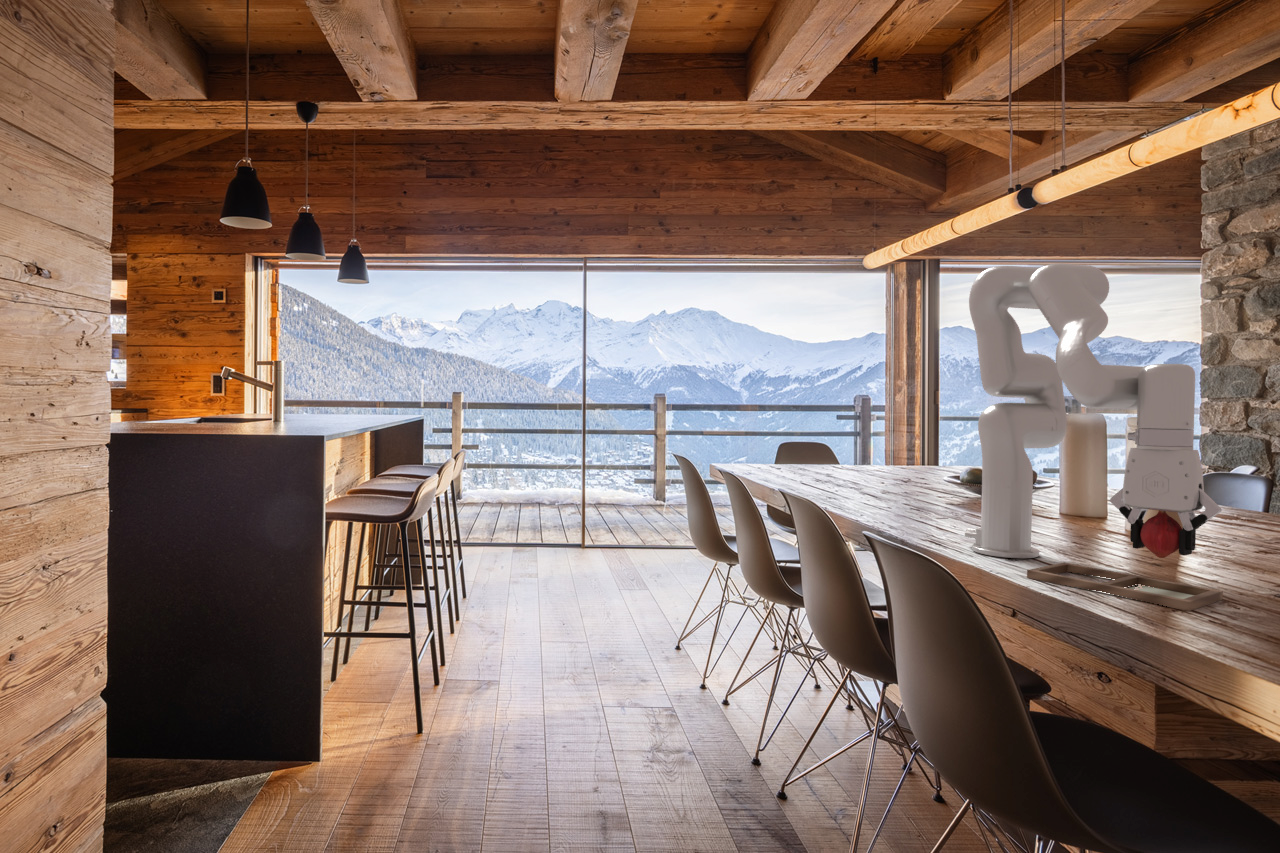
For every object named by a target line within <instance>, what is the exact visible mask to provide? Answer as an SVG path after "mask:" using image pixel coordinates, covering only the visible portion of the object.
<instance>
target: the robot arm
mask: <svg viewBox="0 0 1280 853" xmlns="http://www.w3.org/2000/svg"><path fill="white" fill-rule="evenodd" d="M1109 292H1110V281H1109V279H1108V277H1107V275H1106V274H1105V273H1104V271H1103V270H1101V269H1100V268H1098V267H1097V266H1092V265H1086V264H1085V265H1084V264H1071V263H1051V264H1046V265H1045V266H1044V265H1043V266H1041V267H1031V266H1030V267H1029V266H1027V267H1026V266H1017V265H998V266H992V267H988V268H986V269H985V270H983V271H981V273H979V274H978V275H977V276H976V278H975V280H974V281H973V284H971V288H970V291H969V298H968V308H969V313H970V316H971V318H970V319H971V321H972V324H973V328H974V331H975V335H976V342H977V343H976V344H977V352H978V353H977V354H978V360H979V361H978V362H979V363H978V364H979V373H980V379H981V384H982V385H981V386H982V388H983V391H985V392H986V393H987V394H988V395H989V396H993V397H998V398H1018V399H1019V398H1020V399H1021V398H1024V402H999V403H994V404H991V405H989V406H987V407H986V408H985V409H983V411H982V412H981V414H980V415H979V418H978V421H977V422H978V423H977V425H978V426H977V427H978V430H977V431H978V436H979V440H980V447H981V459H982V460H981V461H982V462H981V463H982V467H981V468H982V469H981V470H982V472H981V478H982V479H981V508H980V509H981V514H980V515H981V516H980V528H971V527H967V528H966V531H965V532H964V536H965V538H970V539H974V540H975V543H972V548H971V550H972V551H974V552H975V553H977V554H981V555H986V556H990V557H997V558H1004V559H1005V558H1009V559H1010V558H1011V559H1034V558H1038V557H1039V556H1040V550H1039V549H1038V548H1036V547H1033V546H1032V526H1033V525H1032V522H1033V518H1032V517H1033V492H1034V491H1033V490H1034V489H1033V487H1034V486H1033V485H1034V484H1033V483H1034V471H1033V470H1034V469H1033V466H1032V462H1031V460H1030V458H1029V456H1028V454H1027V451H1026V450H1025V449H1049V448H1053V447H1055V446H1057V445H1059V444H1060V443H1062V441H1063V440H1064V438H1065V436H1066V432H1067V428H1068V425H1067V424H1068V421H1067V420H1068V418H1067V411H1066V410H1067V409H1066V403H1065V395H1064V394H1065V393H1064V386H1065V387H1066V389H1067V390H1068V392H1069V393H1070V395H1072V397H1073V398H1074V400H1076V401H1077V402H1078V403H1079V404H1080V405H1082V406H1084V407H1087V408H1090V409H1094V410H1095V409H1098V410H1102V409H1103V410H1125V411H1126V410H1131V411H1133V410H1136V428H1135V430H1134V431H1133V432H1128V433H1127V437H1126V438H1127V440H1128V441H1133V442H1134V444H1135V445H1136V447H1130V448H1129V452H1128V455H1127V460H1126V465H1125V468H1124V469H1125V470H1124V477H1123V484H1122V485H1123V486H1122V488H1121V489H1120V490H1119V491H1117V493H1115V494H1114V495H1112V496H1111V497H1110V499H1109V502H1110V503H1111V504H1112V505H1113V506H1114V507H1115V508H1116V509H1117V510H1119V512H1120V514H1121V515H1122V516H1123V517H1124V518H1125V519H1126V520H1127V522H1128V524H1130V532H1129V534H1130V536H1129V538H1130V542H1131V543H1132V548H1133V549H1137V550H1138V549H1141V548H1146V547H1145V546H1144V544H1143V542H1142V540H1141V535H1140V533H1141V528H1142V526H1143V525H1144V523H1145V522H1144V519H1145V516H1146V515H1147V513H1148V510H1152V511H1158V512H1159V511H1166V512H1169V513H1170V512H1171V513H1172V512H1174V513H1177V515H1178V517H1179V519H1180V522H1181V525H1182V530H1180V531H1179V549H1178V554H1179V555H1181V556H1189V555H1191V554H1193V551H1195V550H1196V539H1197V538H1196V535H1197V534H1196V533H1197V532H1196V531H1197V530H1198V529H1199V528H1200V527H1201V526H1203V525H1205V524H1206V523H1207V522H1209V521H1210V520H1212V519H1213V518H1214V517H1215V516H1218V515H1219V514H1220V513H1221V512H1222V510H1223V509H1222V507H1221V506H1220V505H1218V503H1216V501H1214V500H1213V498H1211V496H1209V495H1208V494H1207V493H1206V492H1205V489H1204V488H1205V487H1204V484H1205V483H1204V473H1203V468H1202V462H1201V456H1200V453H1199V449H1194V439H1195V438H1194V436H1195V431H1194V430H1195V403H1196V402H1195V401H1196V400H1195V399H1196V398H1195V397H1196V371H1195V368H1193V366H1191V365H1188V364H1184V363H1158V364H1157V363H1156V364H1148V365H1145V366H1136V365H1117V364H1116V365H1115V364H1102V363H1100V362H1099V360H1098V359H1097V357H1096V356H1095V355H1094V354H1093V352H1092V351H1091V349H1090V347H1089V345H1088V343H1090V342H1092V341H1094V340H1095V339H1096V338H1098V337H1099V336H1101V335H1102V333H1103V332H1104V331H1105V330H1106V328H1107V326H1108V324H1109V316H1108V314H1107V312H1105V310H1104V309H1103V308H1102V306H1101V305H1102V304H1103V303H1104V302H1105V301H1106V300H1107V298H1108V296H1109ZM1009 308H1015V309H1027V310H1029V309H1031V310H1039V311H1040V313H1042V315H1043V317H1044V318H1045V320H1046V321H1047V323H1048V324H1049V325H1050V327H1051V329H1052V330H1053V332H1054V333H1055V334H1056V336H1057V338H1058V343H1057V345H1056V348H1055V360H1053V358H1051V357H1050V356H1048V355H1045V354H1042V353H1031V352H1029V353H1028V352H1027V353H1026V352H1025V349H1024V348H1023V342H1022V332H1021V329H1020V327H1019V325H1018V323H1017V321H1016V319H1015V318H1014V317H1013V316H1012V314H1011V313H1010V312H1009V310H1008V309H1009ZM1063 384H1064V386H1063ZM1203 507H1204V508H1205V509H1204V511H1202V512H1201V513H1200V514H1198V515H1196V514H1195V511H1199V510H1201V509H1203Z"/></svg>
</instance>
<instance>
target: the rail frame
mask: <svg viewBox="0 0 1280 853" xmlns="http://www.w3.org/2000/svg"><path fill="white" fill-rule="evenodd" d="M1063 572H1064V573H1071V572H1072V574H1076V573H1080V574H1079V575H1082V574H1086V575H1085V576H1087V575H1093V576H1100V577H1106V578H1111V579H1115V580H1106V581H1103V582H1098V581H1092V580H1087V579H1082V578H1081V579H1080V578H1078V577H1074V576H1073V577H1072V576H1067V575H1062V574H1063ZM1026 578H1027V579H1030V580H1031V579H1032V580H1036V581H1042V582H1046V583H1051V584H1055V585H1060V584H1061V585H1060V586H1065V585H1067V586H1066V587H1069V586H1071V587H1070V588H1074V587H1078V588H1077V589H1079V588H1083V589H1082V590H1084V589H1089V590H1096V591H1102V592H1106V593H1110V594H1114V595H1119V596H1123V597H1127V598H1126V599H1128V598H1132V599H1137V600H1142V601H1146V602H1145V603H1147V602H1150V603H1149V604H1152V603H1154V604H1153V605H1157V604H1159V605H1158V606H1162V605H1163V607H1166V606H1167V608H1173V609H1177V610H1181V611H1187V612H1190V611H1194V610H1197V609H1199V608H1203V607H1205V606H1209V605H1211V604H1215V603H1217V602H1221V601H1223V599H1224V591H1223V590H1220V589H1213V588H1208V587H1202V586H1196V585H1190V584H1187V583H1186V584H1185V583H1180V582H1175V581H1174V582H1173V581H1170V580H1163V579H1157V578H1153V577H1147V576H1142V575H1136V574H1129V573H1124V572H1119V571H1115V570H1110V569H1109V570H1108V569H1103V568H1097V567H1091V566H1085V565H1079V564H1075V563H1070V562H1069V563H1068V562H1061V563H1054V564H1049V565H1046V566H1041V567H1040V566H1039V567H1036V568H1030V569H1027V570H1026ZM1135 584H1141V586H1142V585H1145V586H1142V588H1143V589H1139V590H1134V589H1135V586H1132V585H1135ZM1128 586H1132V587H1129V588H1124V587H1128ZM1148 586H1150V587H1148ZM1153 587H1154V588H1153ZM1138 588H1140V587H1138ZM1158 588H1159V589H1158ZM1089 590H1088V591H1089ZM1123 597H1122V598H1123ZM1132 599H1131V600H1132ZM1137 600H1136V601H1137ZM1142 601H1141V602H1142Z"/></svg>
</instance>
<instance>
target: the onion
mask: <svg viewBox="0 0 1280 853" xmlns="http://www.w3.org/2000/svg"><path fill="white" fill-rule="evenodd" d="M1143 523H1144V525H1143V526H1142V528H1141V533H1140V535H1141V540H1142V542H1143V544H1144V546H1145V547H1144V548H1146V549H1147V550H1148V551H1149V552H1151V554H1154V555H1155V557H1157V558H1159V559H1164V558H1165V559H1166V558H1167V557H1168V556H1170V555H1172V554H1174V553H1176V551H1179V531H1180V530H1183V527H1182V526H1181V524H1180V523H1179V522H1178V521H1177V520H1176V519H1175V518H1173V517H1172V516H1170V515H1169V514H1168V512H1167V511H1159V510H1158V512H1157V514H1155V515H1153V516H1151V517H1149V518H1148V519H1146V521H1145V522H1143Z"/></svg>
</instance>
